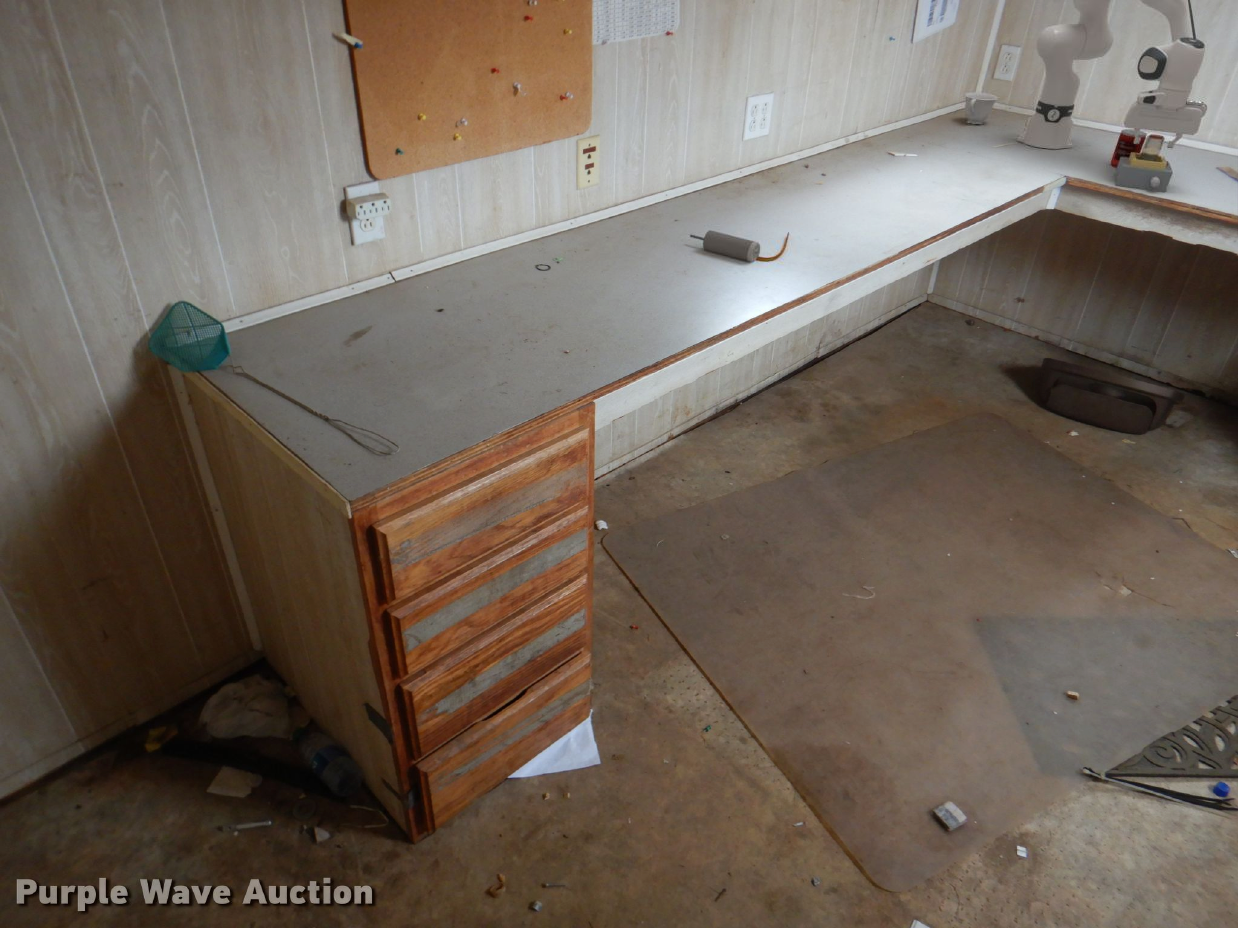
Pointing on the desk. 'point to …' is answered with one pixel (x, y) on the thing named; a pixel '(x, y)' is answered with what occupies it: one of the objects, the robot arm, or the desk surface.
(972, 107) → the teacup
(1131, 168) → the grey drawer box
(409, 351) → the desk surface
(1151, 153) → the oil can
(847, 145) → the desk surface
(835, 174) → the desk surface
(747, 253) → the motor
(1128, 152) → the canned food
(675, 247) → the desk surface
